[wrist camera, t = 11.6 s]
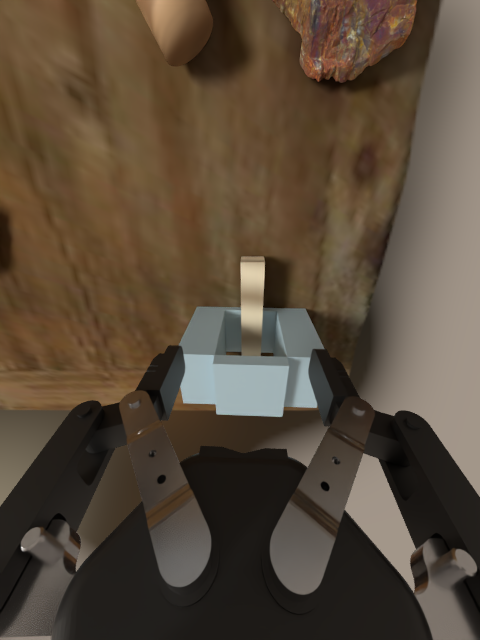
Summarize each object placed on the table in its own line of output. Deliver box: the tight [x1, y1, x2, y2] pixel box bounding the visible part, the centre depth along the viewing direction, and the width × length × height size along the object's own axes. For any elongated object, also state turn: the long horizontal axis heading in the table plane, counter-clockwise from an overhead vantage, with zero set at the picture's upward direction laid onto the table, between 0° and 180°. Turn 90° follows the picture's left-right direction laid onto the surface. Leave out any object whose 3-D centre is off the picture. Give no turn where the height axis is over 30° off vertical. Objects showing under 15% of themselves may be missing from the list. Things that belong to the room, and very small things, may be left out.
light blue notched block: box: [179, 307, 324, 417], centre depth 31 cm, size 8×17×14 cm, turn 90°
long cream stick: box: [241, 256, 265, 356], centre depth 34 cm, size 22×3×3 cm, turn 1°
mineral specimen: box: [272, 0, 417, 83], centre depth 18 cm, size 12×8×7 cm
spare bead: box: [136, 0, 213, 66], centre depth 19 cm, size 4×5×5 cm
